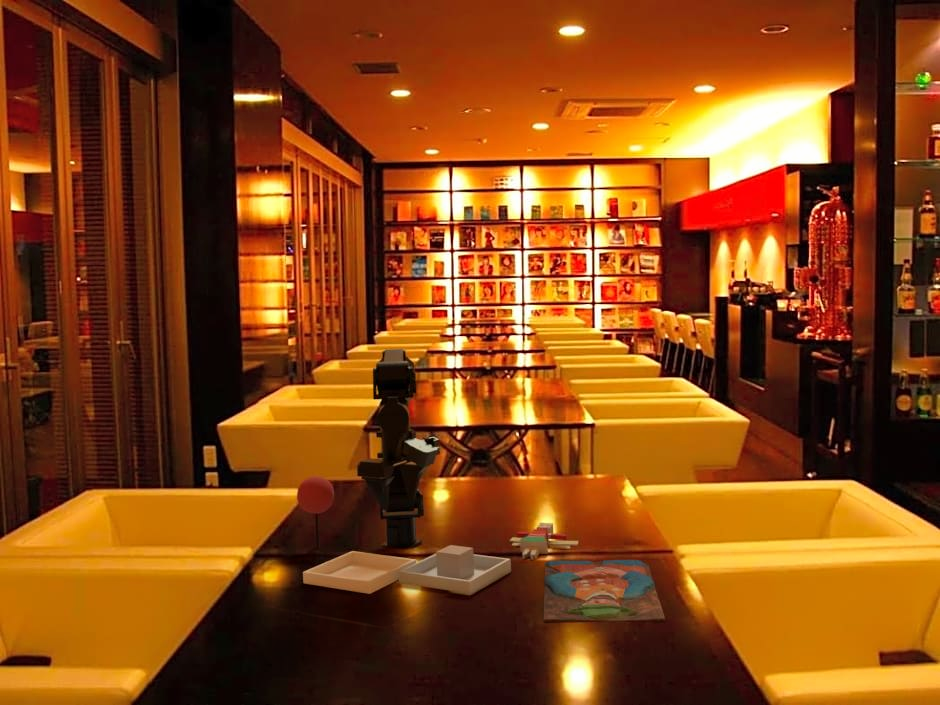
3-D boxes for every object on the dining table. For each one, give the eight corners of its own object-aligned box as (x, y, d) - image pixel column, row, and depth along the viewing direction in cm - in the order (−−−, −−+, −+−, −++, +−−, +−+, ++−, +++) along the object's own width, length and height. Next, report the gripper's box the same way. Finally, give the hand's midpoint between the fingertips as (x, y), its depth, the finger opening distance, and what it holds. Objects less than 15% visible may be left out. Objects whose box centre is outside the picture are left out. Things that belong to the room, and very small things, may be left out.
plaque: (648, 559, 193) (665, 612, 163) (649, 569, 193) (665, 625, 164) (544, 560, 195) (542, 613, 165) (545, 571, 195) (543, 626, 165)
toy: (491, 547, 203) (513, 518, 217) (493, 565, 204) (514, 535, 217) (563, 551, 198) (580, 522, 212) (564, 569, 199) (581, 539, 213)
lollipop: (329, 552, 211) (325, 480, 210) (294, 551, 213) (290, 480, 212) (341, 542, 219) (338, 473, 218) (307, 541, 220) (304, 473, 219)
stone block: (451, 570, 194) (450, 545, 193) (474, 574, 191) (473, 547, 191) (437, 578, 189) (436, 551, 189) (460, 581, 187) (459, 554, 186)
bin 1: (353, 563, 203) (352, 551, 202) (416, 572, 195) (416, 559, 195) (303, 585, 190) (302, 571, 189) (369, 595, 182) (369, 582, 182)
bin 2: (442, 562, 201) (442, 550, 200) (510, 571, 193) (510, 559, 193) (399, 584, 188) (398, 571, 187) (470, 595, 180) (469, 581, 180)
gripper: (402, 435, 186) (405, 519, 187) (455, 420, 202) (458, 498, 203) (353, 432, 192) (357, 514, 193) (408, 418, 208) (412, 493, 209)
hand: (398, 504), depth 199 cm, fingers open, 9 cm apart
